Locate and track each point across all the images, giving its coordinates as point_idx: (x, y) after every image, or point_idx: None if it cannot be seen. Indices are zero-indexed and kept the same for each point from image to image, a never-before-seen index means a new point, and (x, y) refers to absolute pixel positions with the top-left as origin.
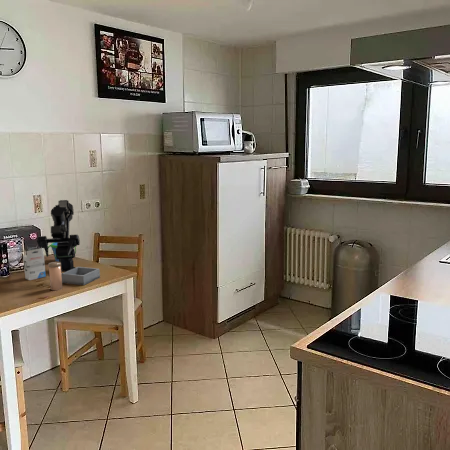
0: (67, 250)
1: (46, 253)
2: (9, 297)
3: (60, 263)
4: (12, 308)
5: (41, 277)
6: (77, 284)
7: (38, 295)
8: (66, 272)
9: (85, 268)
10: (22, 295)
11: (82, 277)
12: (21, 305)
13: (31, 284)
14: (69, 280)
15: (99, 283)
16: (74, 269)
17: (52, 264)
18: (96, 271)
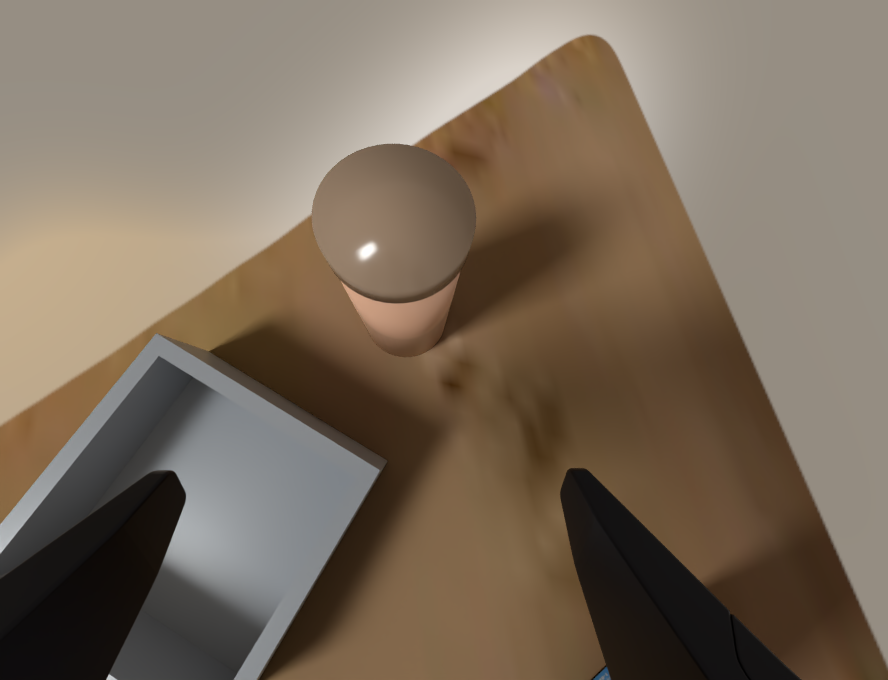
0: (84, 555)
1: (609, 503)
2: (662, 216)
3: (315, 208)
4: (579, 49)
5: (595, 677)
6: (258, 382)
7: (498, 209)
8: (331, 519)
9: (117, 672)
10: (597, 233)
11: (176, 342)
12: (548, 77)
13: (617, 471)
14: (314, 420)
15: (81, 373)
16: (250, 652)
17: (412, 158)
18: (9, 528)
